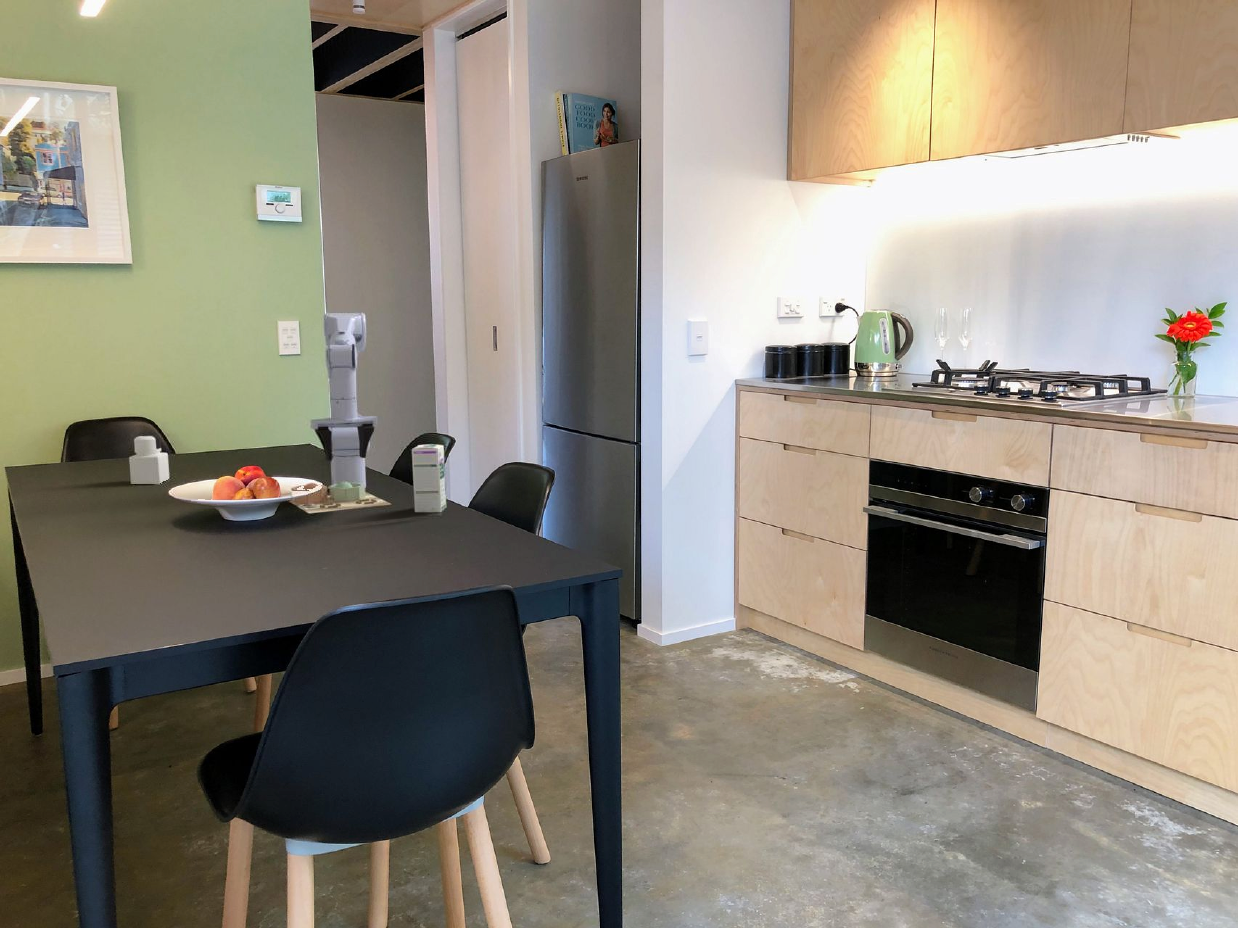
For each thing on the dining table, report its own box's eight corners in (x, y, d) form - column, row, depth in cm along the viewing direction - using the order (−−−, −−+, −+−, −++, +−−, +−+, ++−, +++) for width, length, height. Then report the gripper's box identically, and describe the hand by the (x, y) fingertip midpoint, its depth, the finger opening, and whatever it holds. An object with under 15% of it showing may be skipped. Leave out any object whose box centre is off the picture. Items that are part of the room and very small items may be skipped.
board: (287, 503, 218) (286, 498, 218) (365, 495, 228) (365, 490, 228) (309, 516, 203) (308, 511, 203) (391, 507, 213) (391, 502, 213)
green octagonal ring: (327, 497, 221) (326, 484, 220) (358, 494, 225) (357, 481, 224) (336, 502, 215) (336, 489, 214) (368, 499, 219) (368, 486, 218)
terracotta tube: (289, 499, 218) (288, 486, 218) (321, 496, 222) (320, 483, 222) (297, 505, 212) (296, 491, 212) (330, 501, 216) (329, 488, 216)
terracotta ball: (298, 498, 218) (302, 480, 218) (316, 500, 220) (319, 482, 220) (303, 500, 214) (307, 483, 214) (321, 503, 217) (324, 485, 217)
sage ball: (337, 500, 221) (329, 486, 219) (352, 491, 222) (344, 476, 221) (343, 503, 217) (334, 488, 216) (358, 494, 219) (350, 479, 217)
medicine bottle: (141, 480, 250) (137, 434, 248) (170, 479, 251) (166, 433, 249) (130, 485, 243) (126, 437, 241) (160, 484, 244) (156, 437, 242)
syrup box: (441, 515, 205) (439, 447, 202) (413, 515, 205) (411, 447, 202) (446, 510, 210) (444, 444, 208) (419, 510, 210) (417, 444, 208)
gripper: (315, 401, 209) (318, 463, 211) (381, 398, 217) (383, 458, 219) (306, 399, 215) (309, 459, 217) (370, 396, 223) (373, 454, 225)
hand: (346, 458), depth 218 cm, fingers open, 7 cm apart
